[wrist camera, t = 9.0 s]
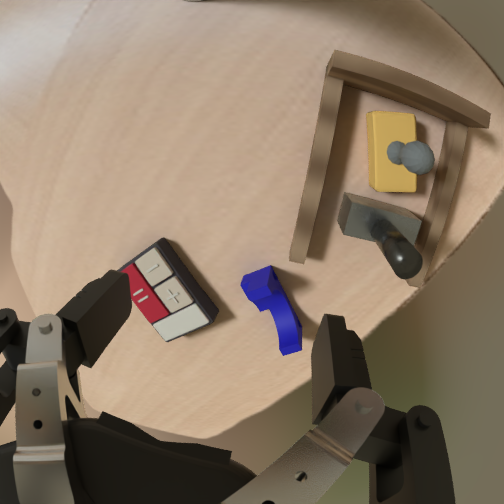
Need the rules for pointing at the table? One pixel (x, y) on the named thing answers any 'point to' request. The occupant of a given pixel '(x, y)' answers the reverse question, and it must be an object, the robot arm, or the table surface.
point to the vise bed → (407, 92)
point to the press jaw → (384, 231)
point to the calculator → (168, 292)
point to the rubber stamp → (395, 152)
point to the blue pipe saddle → (274, 307)
